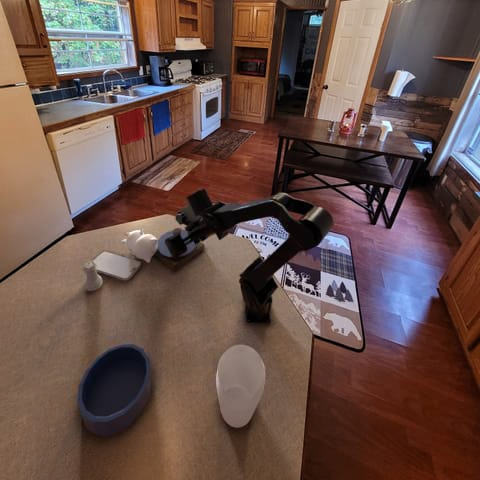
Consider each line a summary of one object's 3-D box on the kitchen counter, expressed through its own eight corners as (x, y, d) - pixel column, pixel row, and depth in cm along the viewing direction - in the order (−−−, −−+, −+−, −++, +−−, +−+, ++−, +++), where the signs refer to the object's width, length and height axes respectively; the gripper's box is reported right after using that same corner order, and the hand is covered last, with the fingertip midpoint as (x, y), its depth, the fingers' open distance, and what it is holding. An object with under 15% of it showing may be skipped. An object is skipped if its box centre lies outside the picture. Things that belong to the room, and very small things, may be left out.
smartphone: (104, 250, 84) (142, 262, 81) (104, 253, 85) (142, 264, 81) (85, 266, 78) (126, 279, 74) (86, 269, 78) (127, 282, 75)
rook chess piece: (81, 288, 72) (76, 267, 69) (95, 276, 76) (90, 256, 73) (93, 294, 70) (88, 273, 67) (106, 282, 74) (102, 261, 71)
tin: (158, 358, 57) (157, 344, 55) (139, 436, 46) (137, 421, 44) (101, 357, 56) (98, 343, 55) (67, 436, 45) (62, 422, 43)
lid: (201, 254, 84) (201, 239, 81) (158, 263, 79) (157, 248, 76) (193, 228, 95) (193, 215, 93) (155, 235, 90) (154, 221, 88)
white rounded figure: (125, 224, 84) (149, 238, 78) (148, 225, 93) (172, 237, 87) (115, 250, 83) (139, 266, 77) (140, 248, 92) (163, 262, 86)
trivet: (204, 249, 89) (204, 244, 88) (174, 271, 80) (174, 265, 79) (180, 232, 96) (180, 227, 95) (150, 251, 87) (149, 245, 86)
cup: (256, 443, 46) (263, 408, 41) (208, 428, 47) (210, 392, 42) (262, 385, 54) (268, 350, 49) (221, 373, 55) (223, 338, 51)
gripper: (215, 191, 81) (192, 207, 92) (167, 216, 68) (146, 231, 78) (232, 222, 80) (207, 234, 91) (187, 253, 66) (163, 264, 77)
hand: (182, 239), depth 84 cm, fingers open, 9 cm apart
